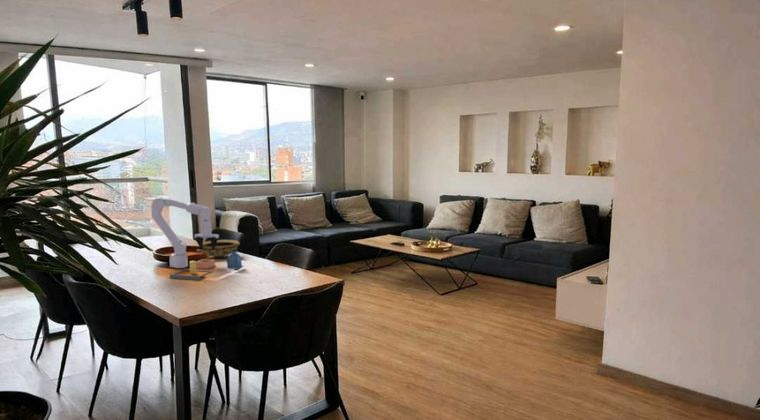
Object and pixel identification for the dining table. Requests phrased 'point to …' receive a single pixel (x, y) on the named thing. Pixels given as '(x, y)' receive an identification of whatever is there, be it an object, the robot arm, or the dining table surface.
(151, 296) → the dining table surface
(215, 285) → the dining table surface
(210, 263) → the peach hollow square block
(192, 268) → the dowel
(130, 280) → the dining table surface
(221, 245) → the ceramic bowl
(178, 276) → the tray
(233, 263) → the perfume bottle
